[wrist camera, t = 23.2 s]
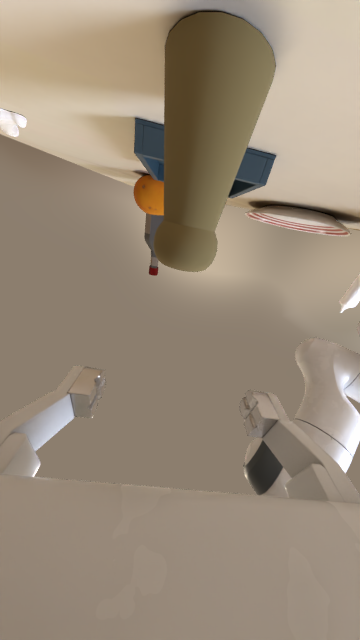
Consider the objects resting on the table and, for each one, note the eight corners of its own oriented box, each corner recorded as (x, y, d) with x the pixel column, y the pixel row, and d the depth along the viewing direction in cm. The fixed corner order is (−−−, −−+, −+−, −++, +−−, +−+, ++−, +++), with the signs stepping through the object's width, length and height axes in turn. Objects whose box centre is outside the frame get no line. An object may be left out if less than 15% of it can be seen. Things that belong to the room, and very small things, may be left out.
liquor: (150, 187, 62) (143, 269, 77) (148, 183, 54) (141, 275, 69) (174, 193, 63) (163, 272, 79) (176, 190, 56) (163, 279, 71)
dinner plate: (228, 198, 49) (225, 211, 50) (341, 205, 31) (329, 226, 32) (276, 216, 64) (272, 226, 66) (369, 227, 46) (360, 241, 48)
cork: (149, 67, 10) (138, 255, 16) (204, -29, 6) (161, 279, 11) (225, 115, 13) (193, 260, 19) (300, 74, 9) (229, 280, 14)
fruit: (168, 184, 49) (164, 217, 53) (130, 173, 44) (129, 209, 48) (185, 182, 41) (178, 220, 45) (141, 168, 36) (139, 212, 40)
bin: (276, 155, 18) (265, 185, 19) (237, 181, 30) (232, 198, 32) (135, 117, 16) (134, 152, 18) (155, 161, 29) (153, 179, 30)
